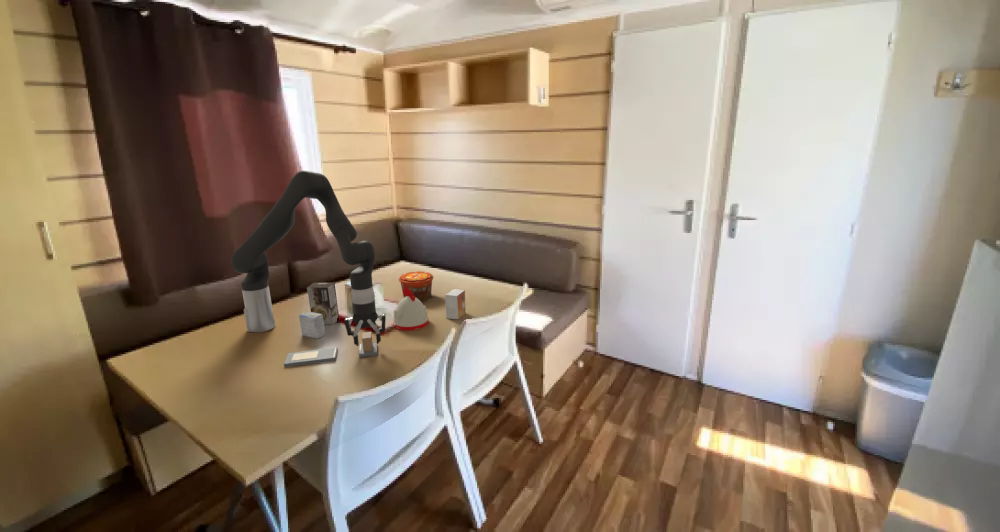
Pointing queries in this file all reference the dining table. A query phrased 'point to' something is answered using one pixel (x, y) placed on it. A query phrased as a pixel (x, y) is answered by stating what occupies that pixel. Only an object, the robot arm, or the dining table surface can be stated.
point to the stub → (367, 346)
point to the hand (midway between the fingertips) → (367, 343)
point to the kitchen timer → (410, 313)
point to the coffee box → (324, 301)
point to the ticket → (310, 357)
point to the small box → (455, 304)
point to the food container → (417, 284)
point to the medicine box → (312, 324)
